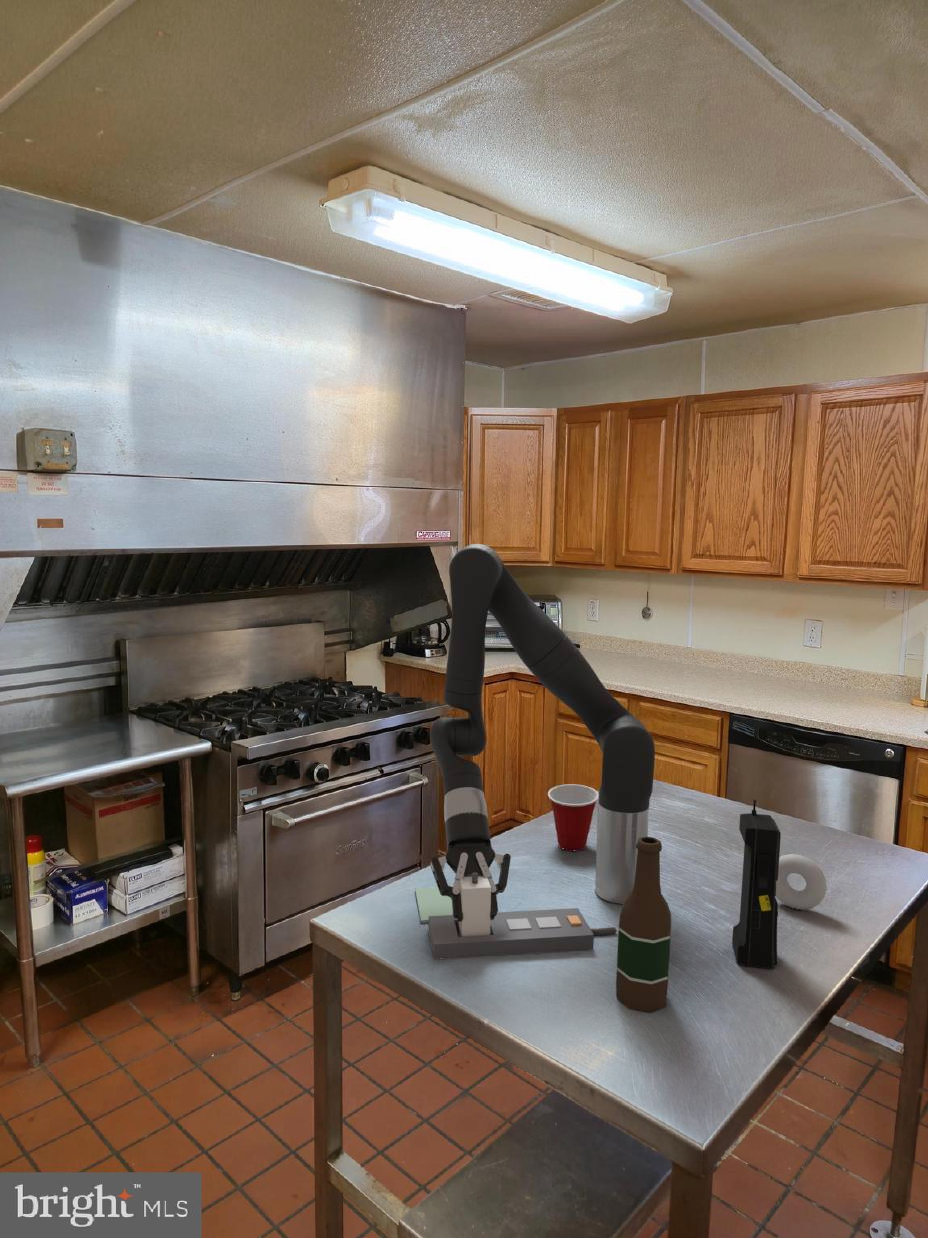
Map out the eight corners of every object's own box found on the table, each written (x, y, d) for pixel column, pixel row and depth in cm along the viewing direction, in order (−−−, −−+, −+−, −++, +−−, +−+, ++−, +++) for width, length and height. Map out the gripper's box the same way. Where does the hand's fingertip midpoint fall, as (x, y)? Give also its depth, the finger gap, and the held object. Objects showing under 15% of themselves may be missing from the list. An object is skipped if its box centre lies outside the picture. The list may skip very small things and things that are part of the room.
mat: (478, 887, 149) (478, 885, 149) (489, 919, 137) (489, 916, 137) (415, 891, 147) (415, 888, 147) (421, 923, 135) (421, 920, 135)
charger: (485, 932, 132) (486, 867, 130) (489, 946, 128) (491, 878, 126) (458, 934, 131) (459, 868, 130) (461, 947, 127) (462, 880, 126)
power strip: (607, 920, 137) (608, 904, 137) (625, 947, 129) (626, 930, 128) (428, 930, 133) (428, 914, 132) (434, 959, 124) (434, 942, 124)
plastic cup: (537, 849, 167) (539, 794, 166) (558, 832, 176) (560, 780, 175) (584, 861, 161) (587, 804, 160) (604, 843, 170) (606, 790, 169)
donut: (826, 912, 142) (830, 859, 140) (822, 920, 139) (826, 866, 138) (769, 896, 147) (772, 845, 146) (763, 903, 145) (767, 851, 143)
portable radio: (779, 974, 122) (790, 818, 119) (738, 969, 123) (748, 815, 120) (770, 948, 129) (780, 801, 126) (731, 943, 130) (740, 797, 127)
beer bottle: (608, 983, 118) (615, 829, 116) (658, 981, 119) (666, 829, 116) (623, 1015, 111) (630, 851, 108) (676, 1013, 111) (685, 850, 109)
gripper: (427, 812, 133) (434, 914, 123) (510, 809, 135) (523, 909, 125) (424, 830, 139) (430, 929, 129) (503, 826, 141) (515, 924, 131)
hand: (476, 919), depth 127 cm, fingers closed on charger, 4 cm apart
